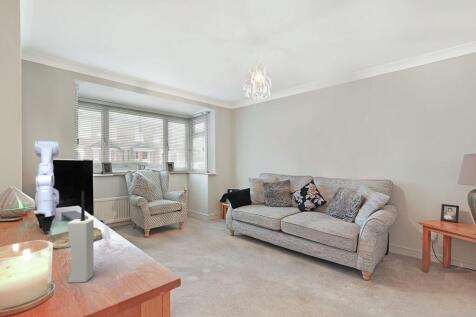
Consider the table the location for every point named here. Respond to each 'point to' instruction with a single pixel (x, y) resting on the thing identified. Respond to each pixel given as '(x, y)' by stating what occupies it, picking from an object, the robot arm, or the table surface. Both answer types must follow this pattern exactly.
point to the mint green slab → (59, 227)
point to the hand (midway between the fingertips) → (44, 229)
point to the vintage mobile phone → (81, 248)
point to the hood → (71, 215)
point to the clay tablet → (63, 239)
